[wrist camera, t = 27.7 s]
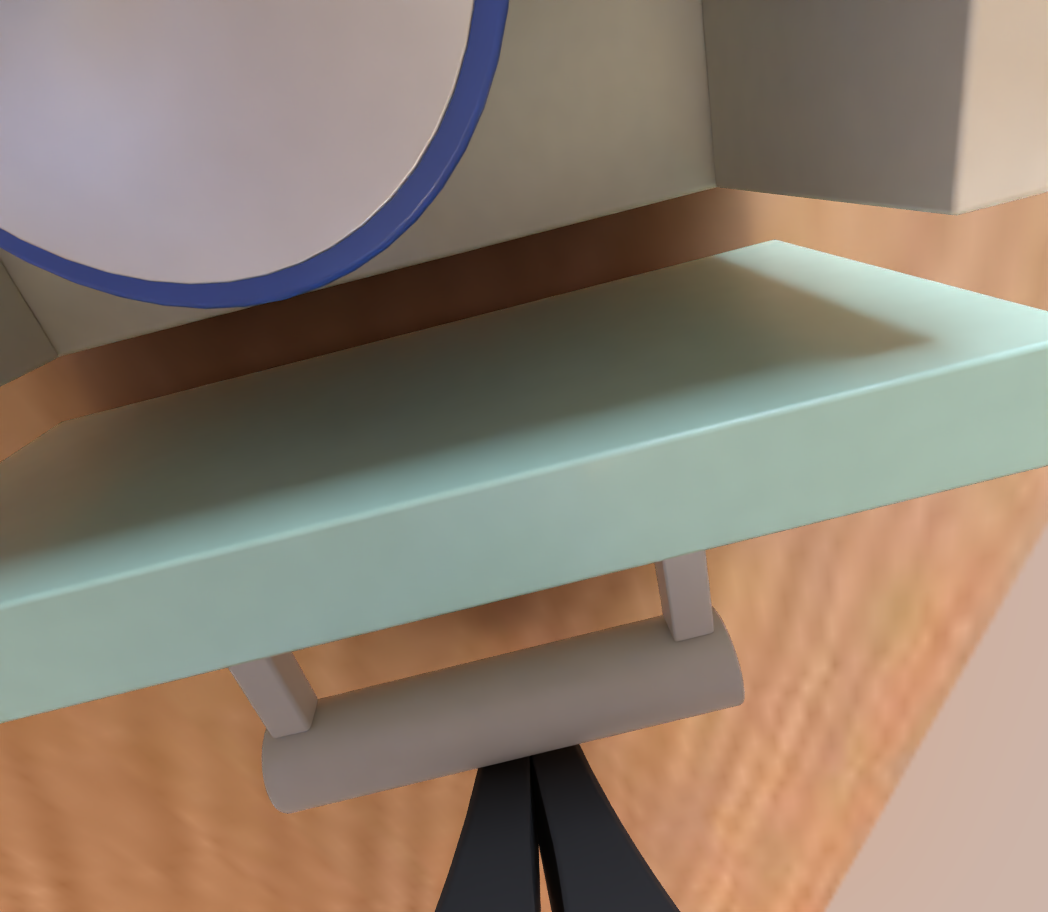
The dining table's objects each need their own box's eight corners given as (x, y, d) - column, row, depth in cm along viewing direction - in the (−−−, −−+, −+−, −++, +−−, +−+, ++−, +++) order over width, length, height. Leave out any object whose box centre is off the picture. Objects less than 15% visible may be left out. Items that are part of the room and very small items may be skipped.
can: (528, -96, 7) (628, -476, 3) (441, 273, 8) (422, 383, 4) (119, -274, 6) (-638, -1229, 2) (111, 179, 8) (-289, 204, 4)
